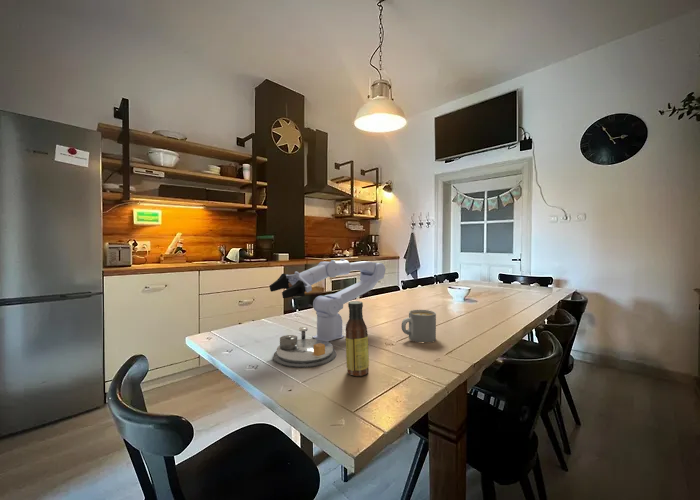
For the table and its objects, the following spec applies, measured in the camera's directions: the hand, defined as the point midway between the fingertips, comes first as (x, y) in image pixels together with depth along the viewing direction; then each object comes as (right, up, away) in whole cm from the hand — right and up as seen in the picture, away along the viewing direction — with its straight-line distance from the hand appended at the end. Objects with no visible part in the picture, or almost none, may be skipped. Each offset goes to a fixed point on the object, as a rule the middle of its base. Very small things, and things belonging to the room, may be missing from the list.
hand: (276, 292), depth 102 cm
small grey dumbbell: (+8, -20, +9) cm, 23 cm away
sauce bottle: (+26, -21, -16) cm, 37 cm away
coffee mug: (+50, -20, +14) cm, 56 cm away
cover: (+5, -18, -3) cm, 18 cm away
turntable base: (+10, -20, -3) cm, 23 cm away
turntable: (+10, -20, -3) cm, 23 cm away
